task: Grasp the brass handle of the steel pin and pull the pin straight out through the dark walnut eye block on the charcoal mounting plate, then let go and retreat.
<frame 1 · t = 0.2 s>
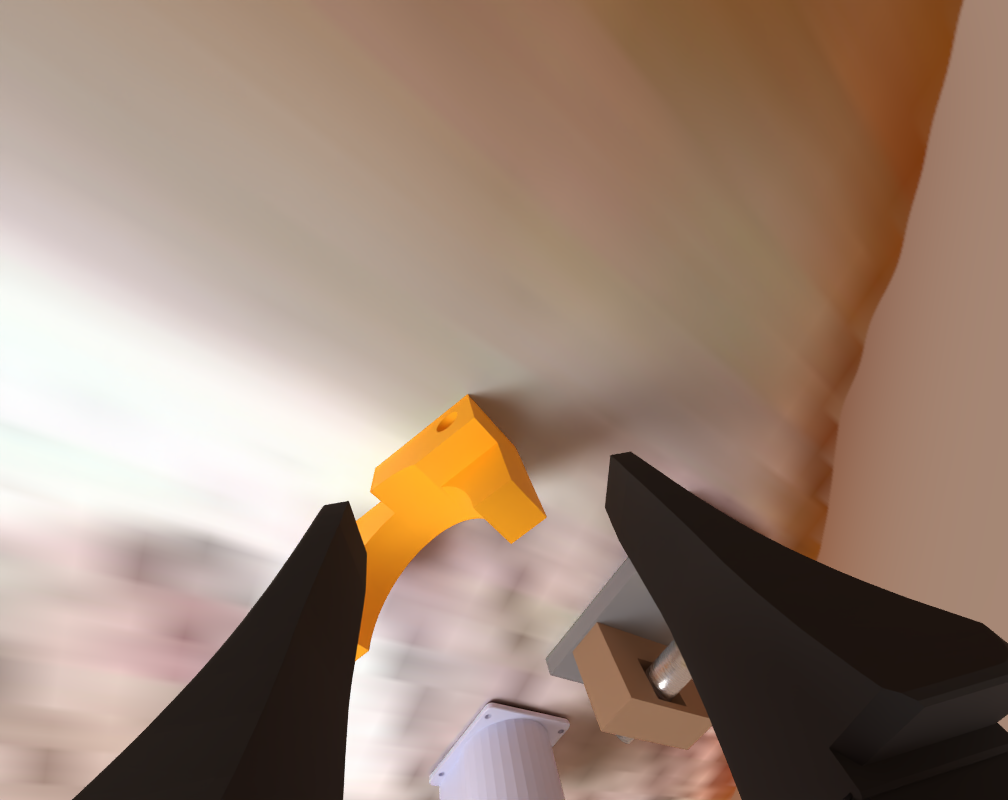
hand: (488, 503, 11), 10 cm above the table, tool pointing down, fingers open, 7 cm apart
eye block: (657, 587, 29), on the table
pipe clamp: (409, 484, 23), on the table
pin: (670, 671, 25), point 4 cm above the table, slide at 0.0 cm
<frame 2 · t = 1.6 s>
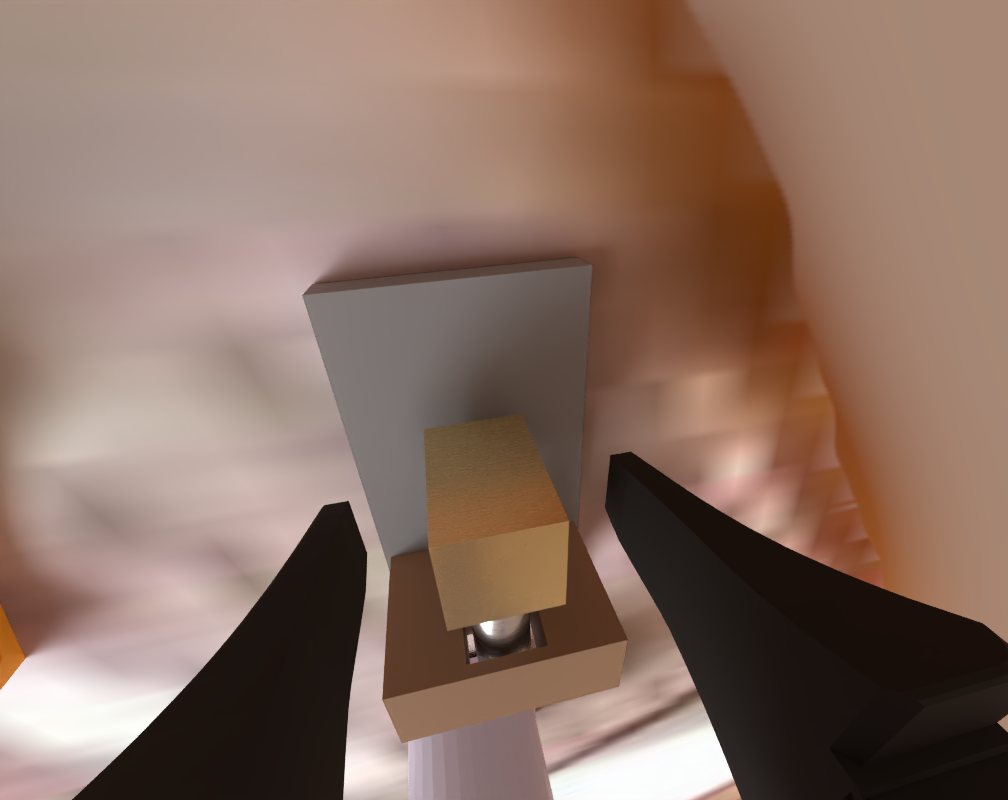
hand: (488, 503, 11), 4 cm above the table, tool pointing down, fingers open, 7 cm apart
eye block: (473, 453, 16), on the table
pin: (498, 597, 13), point 5 cm above the table, slide at 0.0 cm
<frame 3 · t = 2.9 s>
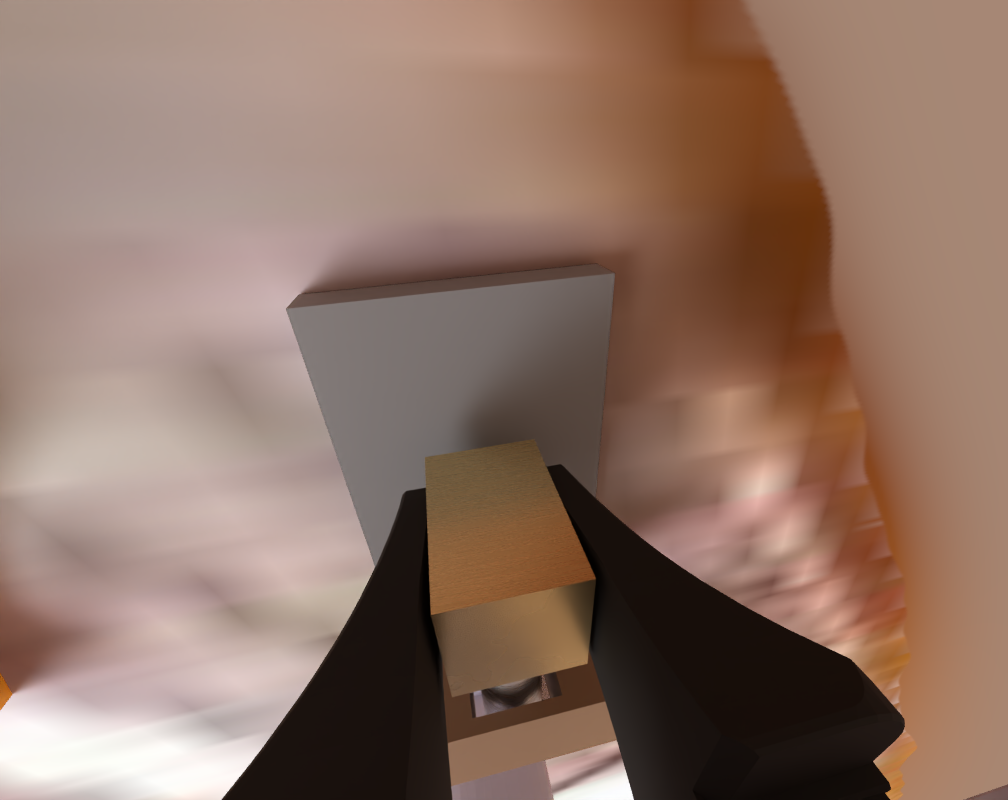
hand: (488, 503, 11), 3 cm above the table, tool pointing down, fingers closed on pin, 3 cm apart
eye block: (478, 476, 14), on the table
pin: (507, 640, 12), point 5 cm above the table, slide at 0.0 cm, touching gripper
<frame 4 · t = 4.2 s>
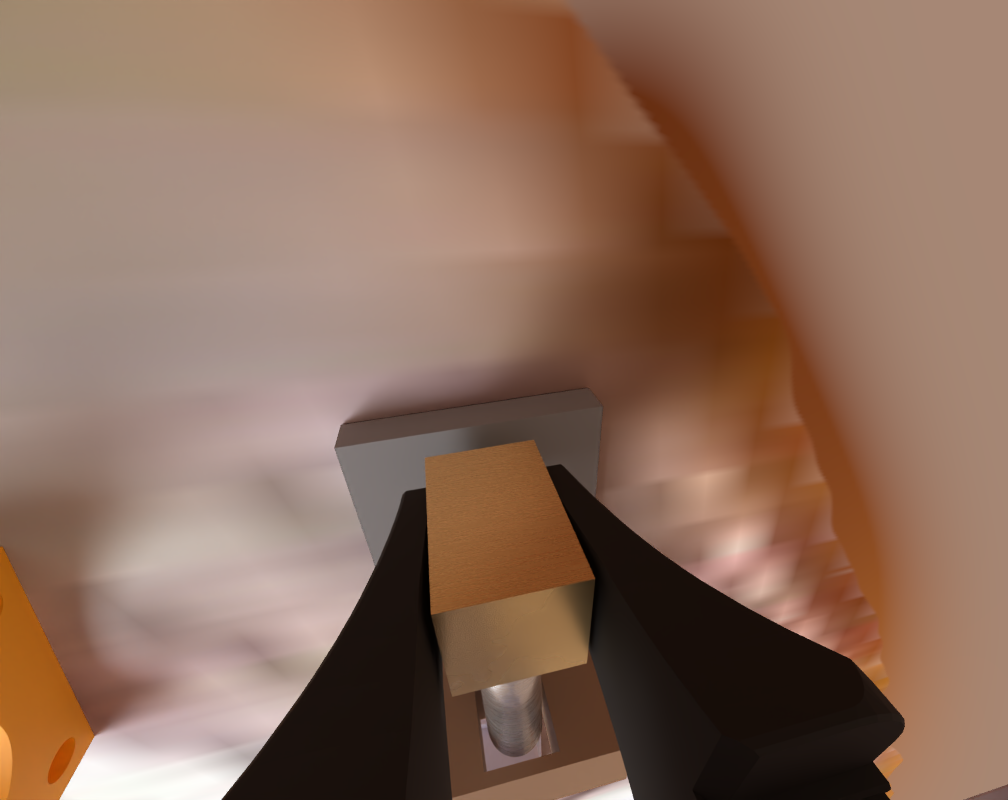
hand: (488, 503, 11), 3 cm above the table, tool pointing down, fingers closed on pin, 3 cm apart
eye block: (487, 550, 16), on the table
pin: (506, 640, 12), point 4 cm above the table, slide at 4.0 cm, touching gripper
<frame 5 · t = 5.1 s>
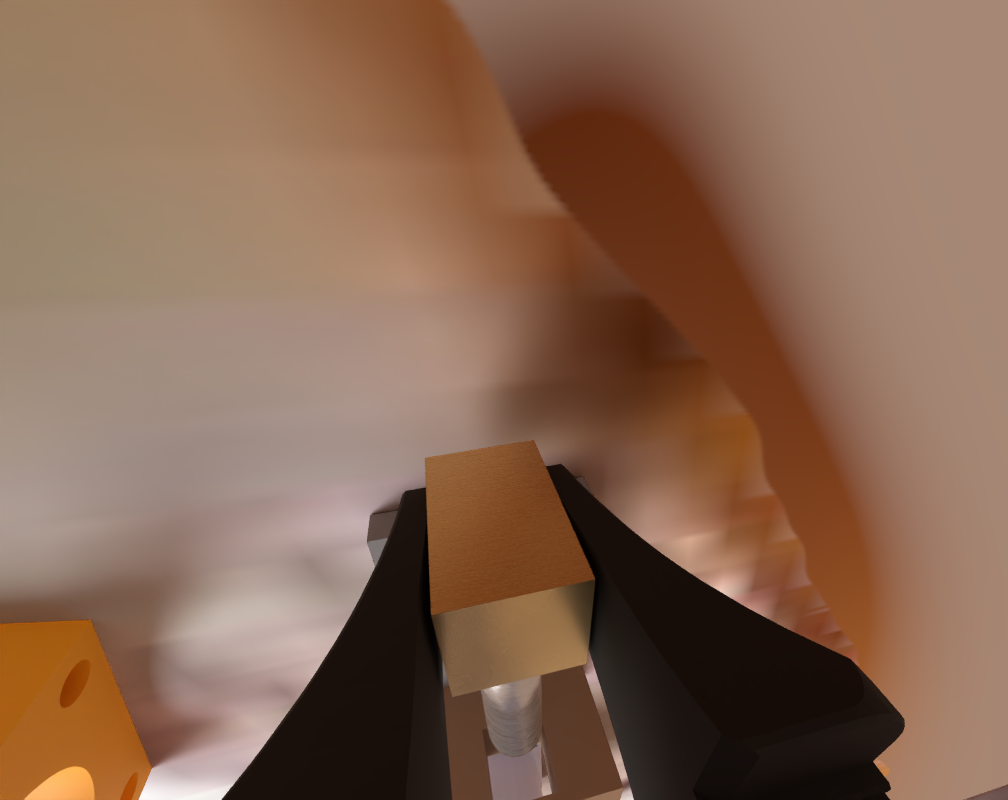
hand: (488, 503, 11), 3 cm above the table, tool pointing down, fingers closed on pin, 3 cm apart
eye block: (493, 606, 18), on the table
pipe clamp: (68, 702, 17), on the table
pin: (506, 640, 12), point 4 cm above the table, slide at 7.9 cm, touching gripper
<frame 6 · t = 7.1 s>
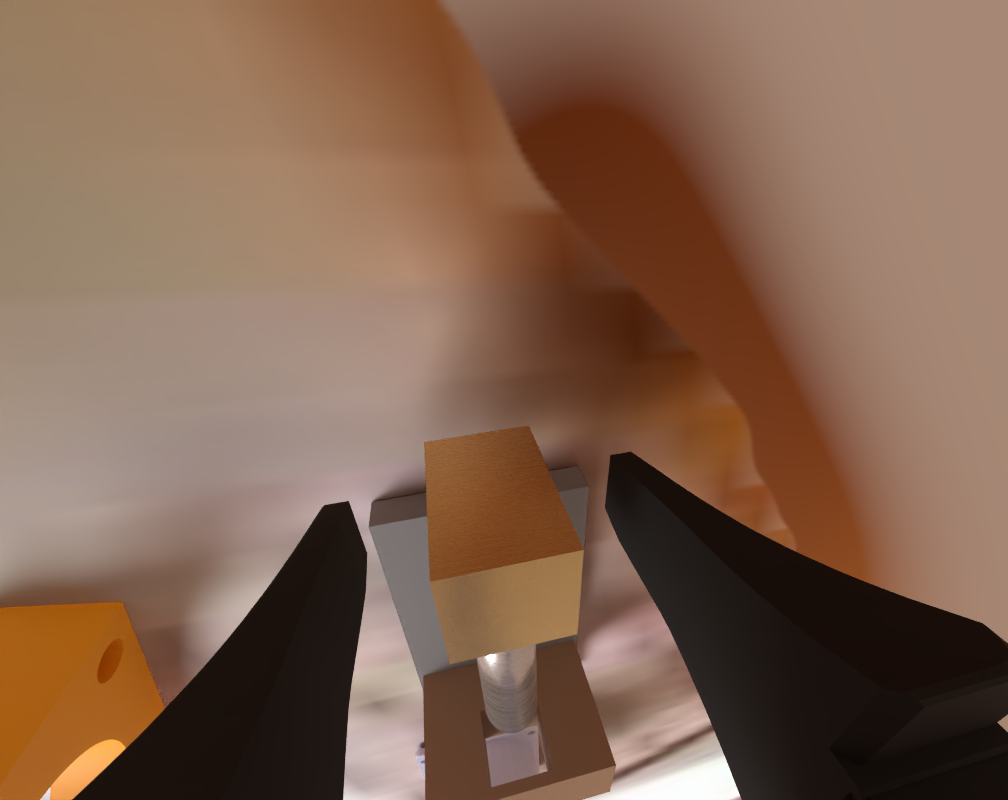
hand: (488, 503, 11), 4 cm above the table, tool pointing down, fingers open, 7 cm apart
eye block: (491, 593, 19), on the table
pipe clamp: (101, 682, 17), on the table
pin: (502, 618, 12), point 5 cm above the table, slide at 8.0 cm
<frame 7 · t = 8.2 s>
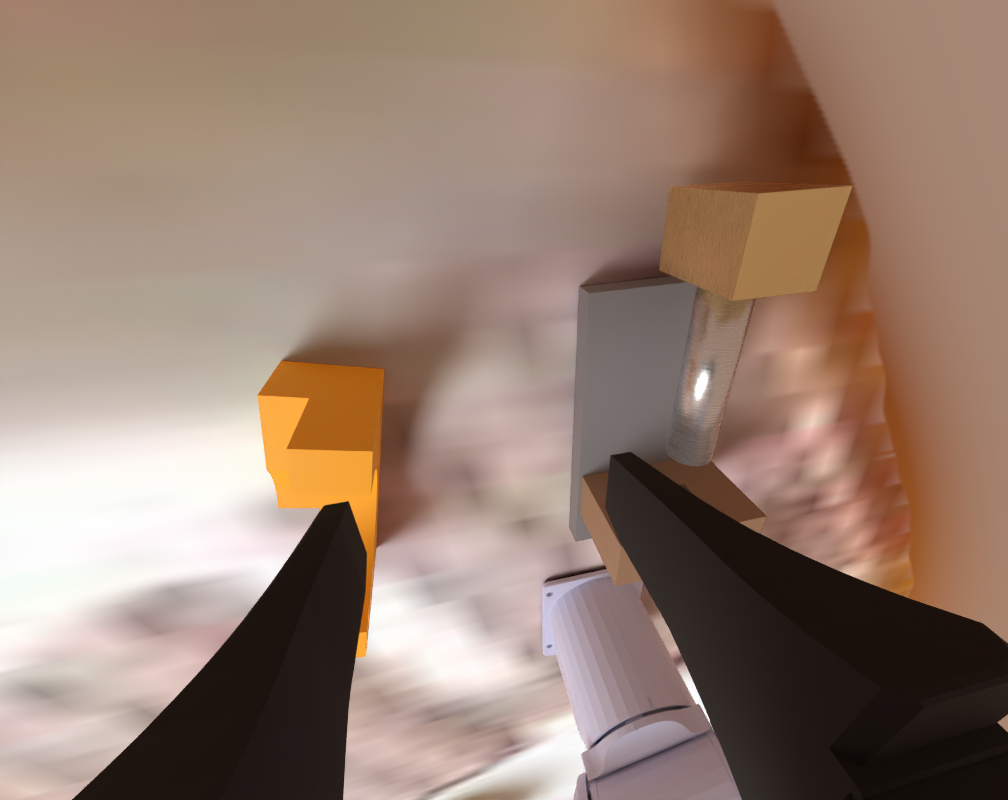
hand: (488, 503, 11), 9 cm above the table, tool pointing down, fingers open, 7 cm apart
eye block: (641, 403, 22), on the table
pipe clamp: (337, 465, 21), on the table
pin: (713, 343, 16), point 5 cm above the table, slide at 8.0 cm
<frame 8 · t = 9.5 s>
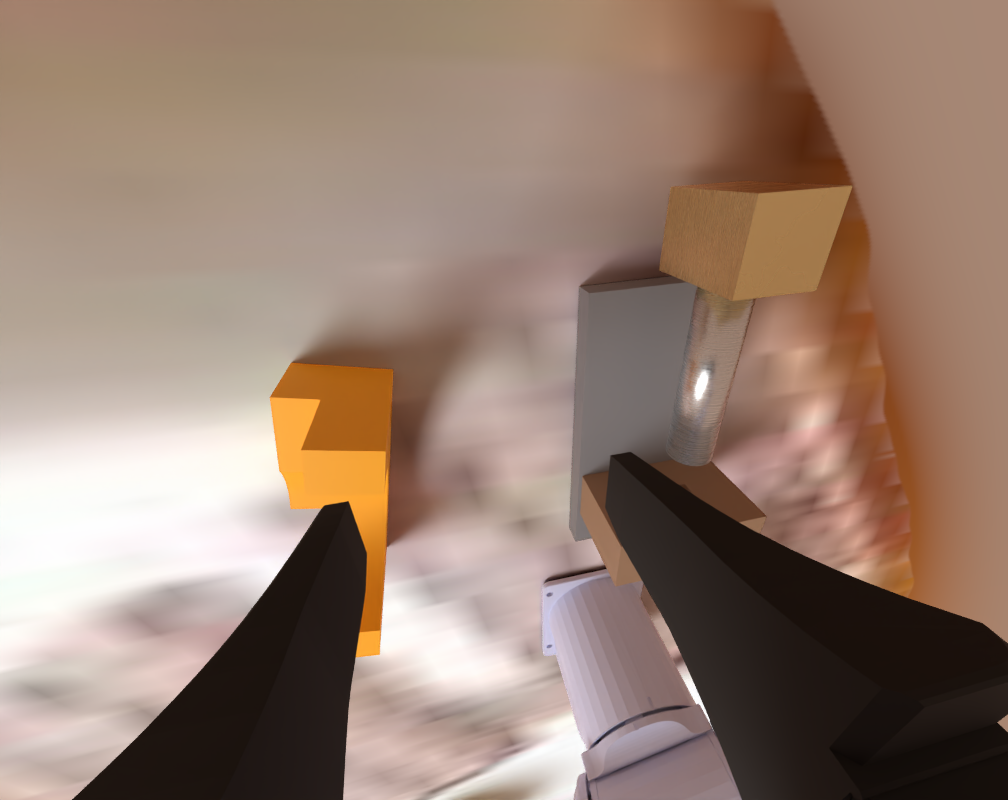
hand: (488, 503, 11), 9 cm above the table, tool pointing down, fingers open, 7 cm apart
eye block: (641, 403, 22), on the table
pipe clamp: (347, 465, 21), on the table
pin: (713, 343, 16), point 4 cm above the table, slide at 8.0 cm
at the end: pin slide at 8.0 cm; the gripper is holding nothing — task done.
